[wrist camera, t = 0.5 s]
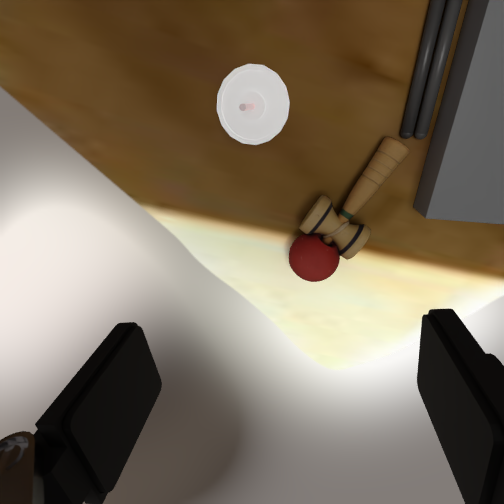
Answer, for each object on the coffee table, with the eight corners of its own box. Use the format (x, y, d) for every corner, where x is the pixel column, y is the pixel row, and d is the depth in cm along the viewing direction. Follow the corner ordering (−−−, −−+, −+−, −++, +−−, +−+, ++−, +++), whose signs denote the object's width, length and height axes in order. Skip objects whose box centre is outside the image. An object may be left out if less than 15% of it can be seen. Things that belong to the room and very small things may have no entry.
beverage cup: (304, 100, 33) (306, 100, 21) (266, 146, 36) (249, 171, 23) (260, 58, 32) (235, 31, 20) (224, 109, 35) (182, 113, 22)
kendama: (354, 121, 35) (269, 251, 40) (381, 122, 29) (277, 275, 35) (405, 157, 37) (317, 276, 43) (439, 165, 31) (332, 302, 37)
